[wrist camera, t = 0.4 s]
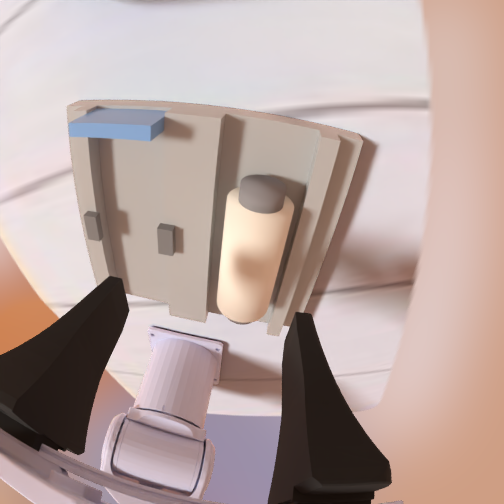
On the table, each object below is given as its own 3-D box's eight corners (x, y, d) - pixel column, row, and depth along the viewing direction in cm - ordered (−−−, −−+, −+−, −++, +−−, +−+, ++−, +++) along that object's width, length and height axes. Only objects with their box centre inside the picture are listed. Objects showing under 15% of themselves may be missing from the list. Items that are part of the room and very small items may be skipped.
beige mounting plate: (297, 314, 26) (296, 357, 23) (104, 274, 26) (82, 310, 23) (358, 133, 16) (376, 161, 13) (79, 100, 16) (36, 120, 13)
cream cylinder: (266, 295, 23) (265, 334, 21) (218, 290, 23) (213, 327, 20) (295, 175, 17) (301, 207, 14) (232, 166, 17) (225, 197, 14)
